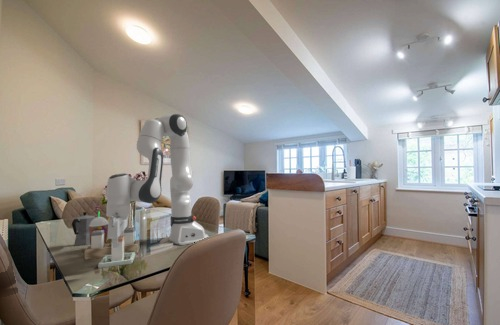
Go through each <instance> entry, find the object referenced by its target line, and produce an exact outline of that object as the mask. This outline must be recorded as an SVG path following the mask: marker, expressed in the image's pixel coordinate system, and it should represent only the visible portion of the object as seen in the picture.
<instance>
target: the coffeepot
mask: <svg viewBox="0 0 500 325" xmlns="http://www.w3.org/2000/svg"><path fill="white" fill-rule="evenodd" d="M94 218H96V217H95V215H89V214H88V215H87V211H83V212H82V215H80V216H77V217H75V218H74V219H73V220H72V222H71V226H72V230H73V234H74V235H75V239H74V243H73V244H74V245H73V247H82V246H90V236H89V225H90V223H91V221H92V220H93V219H94Z"/></svg>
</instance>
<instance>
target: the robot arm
mask: <svg viewBox="0 0 500 325" xmlns="http://www.w3.org/2000/svg"><path fill="white" fill-rule="evenodd" d="M187 128H188V123H187V120H186V118H185V117H184V116H183V115H182V114H180V113H179V114H178V113H174V114H167V115H164V116H161V117H157V118H153V119H152V118H151V119H147V120H145V122H144V123H143V126H142V127H141V130H140V131H139V134H138V135H139V136H138V137H137V141H136V149H137V150H136V151H137V152H138V153H139V154H140V155H141V156H143V157H144V158H147V160H148V162H149V164H148V172H147V178H145V180H138V179H135V178H133V177H132V176H130V175H129V174H128V173H117V174H113V175H111V176H109V177H108V180H107V182H106V183H107V184H106V197H107V203H106V217H107V218H109V220H108V237H107V240H111V239H112V243H113V248H117V247H118V246H119V242H118V237H119V236H124V230H125V229H126V228H128V223H129V215H130V214H131V202H136V203H137V202H140V203H147V204H153V203H155V202H157V201H158V200H159V199H160V197H161V195H162V177H163V176H162V175H163V166H164V153H163V151H162V142H163V141H164V140H163V139H164V137H168V139H169V141H170V142H169V143H170V144H169V150H170V151H169V153H170V154H169V155H170V156H169V157H170V167H171V177H170V180H169V190H170V202H171V208H170V209H171V212H170V213H171V215H170V222H169V225H170V233H169V238H168V240H169V241H171V242H172V244H174V245H178V246H179V245H180V246H185V245H190V244H195V243H194V242H197V241H199V240H202V239H204V238H207V237H209V238H210V236H209V234H207V233H206V232H205V231H206V230H205V228H204V226H203V225H201V224H200V223H198V222H197V221H196V220H197V217H196V216H195V215H193V214H192V199H191V191H190V190H192V188H193V186H194V183H195V182H194V178H193V177H194V176H193V175H194V174H193V170H192V169H193V168H192V164H191V144H190V139H189V138H190V137H189V135H188V132H187ZM197 243H198V242H197Z"/></svg>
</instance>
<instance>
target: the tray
mask: <svg viewBox="0 0 500 325" xmlns="http://www.w3.org/2000/svg"><path fill="white" fill-rule="evenodd" d="M135 257H136V254H135V252H131V253H124V258H129V259H124V260H121V261H113V262H111V261H108V260H111V255H105V256H104V257H103V258H101V260H100V261H99V262H98V263H97V267H98V268H97V269H100V268H101V269H102V268H109V267H117V266H124V265H131V264H133V262H134V260H135Z"/></svg>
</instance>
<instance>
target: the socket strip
mask: <svg viewBox="0 0 500 325" xmlns="http://www.w3.org/2000/svg"><path fill="white" fill-rule="evenodd" d="M111 246H112V243H111V242H110V243H107V244H104V247H103V248H96V249H91V245H88V247H87V248H86V249H84V261H85V260H92V259H93V260H95V259H103V258H104V256H105V255H111ZM139 250H140V240H135V244H133V245H124V253H131V252H135V255H136V254H138V253H139Z"/></svg>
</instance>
